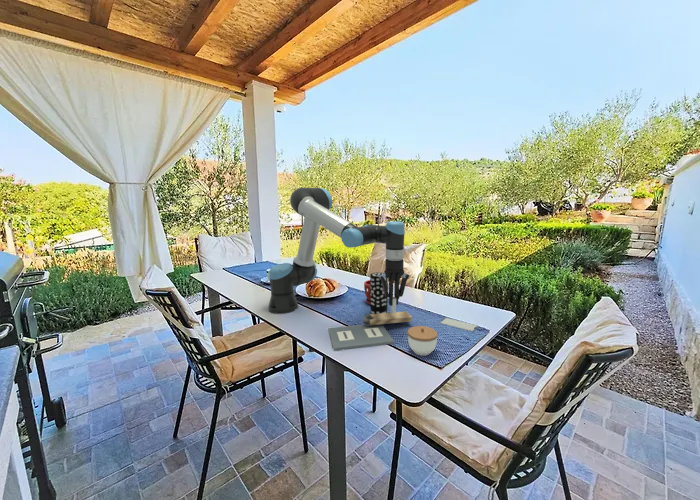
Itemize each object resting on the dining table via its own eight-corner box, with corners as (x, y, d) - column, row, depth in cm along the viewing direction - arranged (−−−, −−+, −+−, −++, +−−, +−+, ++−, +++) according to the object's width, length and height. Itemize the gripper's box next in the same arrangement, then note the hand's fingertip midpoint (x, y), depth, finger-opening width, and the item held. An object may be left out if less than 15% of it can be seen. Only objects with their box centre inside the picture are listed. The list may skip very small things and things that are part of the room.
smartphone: (445, 317, 140) (478, 325, 130) (445, 318, 140) (478, 326, 130) (439, 322, 134) (473, 331, 125) (439, 324, 134) (473, 332, 125)
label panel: (328, 329, 130) (328, 325, 129) (380, 324, 134) (380, 320, 134) (334, 350, 112) (333, 345, 111) (394, 343, 116) (394, 338, 116)
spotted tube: (386, 317, 142) (386, 277, 138) (369, 316, 144) (369, 276, 140) (387, 310, 150) (388, 272, 146) (371, 309, 152) (371, 272, 148)
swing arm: (364, 325, 127) (364, 318, 127) (361, 319, 134) (361, 312, 134) (412, 321, 131) (412, 314, 130) (406, 315, 137) (406, 308, 137)
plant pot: (392, 301, 164) (392, 280, 162) (381, 308, 153) (381, 286, 151) (371, 297, 171) (371, 277, 169) (359, 304, 160) (359, 283, 158)
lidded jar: (404, 345, 115) (404, 322, 113) (430, 343, 116) (431, 321, 114) (412, 360, 104) (412, 335, 103) (441, 358, 105) (442, 333, 104)
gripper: (382, 261, 118) (381, 316, 122) (412, 259, 120) (410, 314, 125) (376, 257, 125) (376, 310, 129) (405, 256, 127) (404, 307, 132)
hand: (393, 312), depth 127 cm, fingers closed
